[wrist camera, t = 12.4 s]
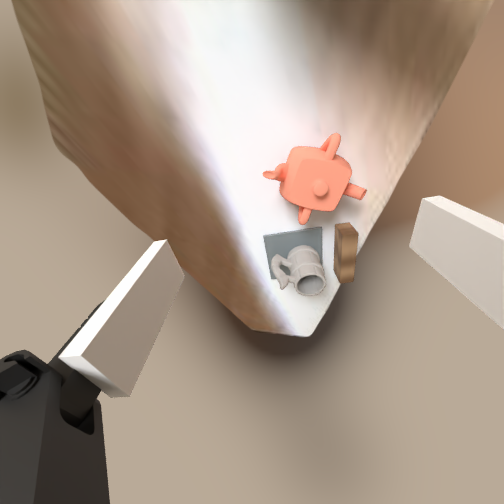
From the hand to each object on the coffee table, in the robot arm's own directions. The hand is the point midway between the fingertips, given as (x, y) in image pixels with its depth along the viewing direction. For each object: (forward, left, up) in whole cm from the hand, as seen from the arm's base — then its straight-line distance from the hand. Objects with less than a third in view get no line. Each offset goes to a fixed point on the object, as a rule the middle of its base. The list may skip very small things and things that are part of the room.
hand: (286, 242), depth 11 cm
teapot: (+5, +7, -32) cm, 33 cm away
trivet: (+24, +3, -32) cm, 40 cm away
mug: (+23, +3, -31) cm, 39 cm away
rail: (+24, +14, -32) cm, 42 cm away
